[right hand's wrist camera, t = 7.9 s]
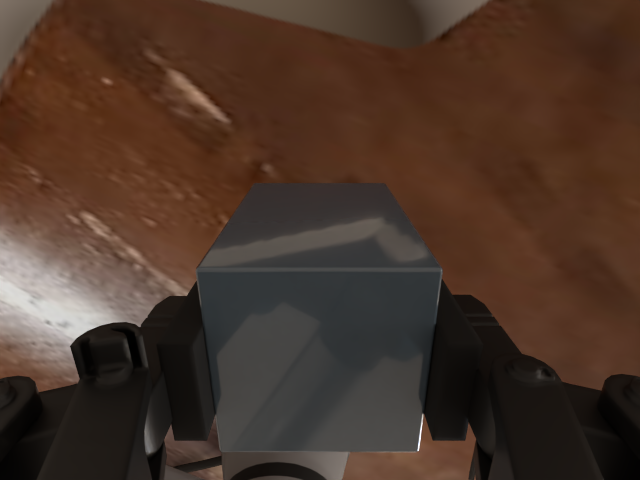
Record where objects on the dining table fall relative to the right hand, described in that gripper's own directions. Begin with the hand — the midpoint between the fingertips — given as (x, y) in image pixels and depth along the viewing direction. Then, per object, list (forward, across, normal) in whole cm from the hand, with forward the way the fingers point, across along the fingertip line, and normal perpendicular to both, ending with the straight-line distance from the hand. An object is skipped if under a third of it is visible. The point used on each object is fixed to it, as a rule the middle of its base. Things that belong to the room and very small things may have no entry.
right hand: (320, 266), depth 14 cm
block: (+2, 0, 0) cm, 2 cm away
